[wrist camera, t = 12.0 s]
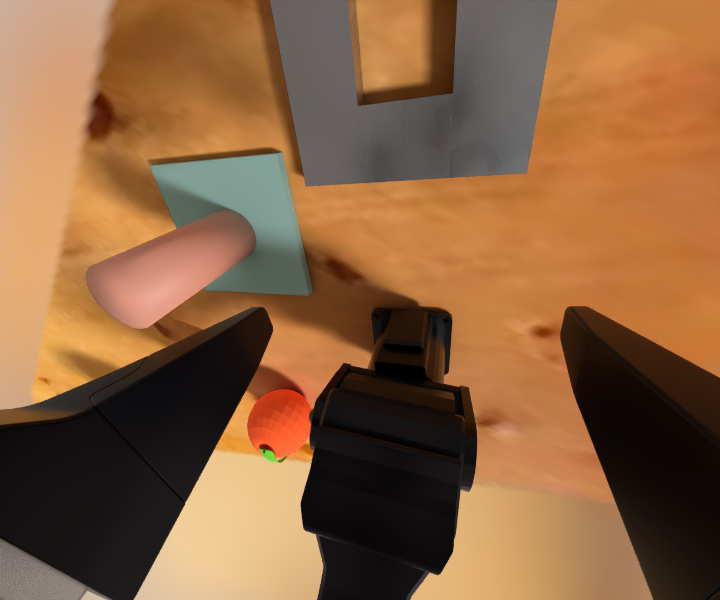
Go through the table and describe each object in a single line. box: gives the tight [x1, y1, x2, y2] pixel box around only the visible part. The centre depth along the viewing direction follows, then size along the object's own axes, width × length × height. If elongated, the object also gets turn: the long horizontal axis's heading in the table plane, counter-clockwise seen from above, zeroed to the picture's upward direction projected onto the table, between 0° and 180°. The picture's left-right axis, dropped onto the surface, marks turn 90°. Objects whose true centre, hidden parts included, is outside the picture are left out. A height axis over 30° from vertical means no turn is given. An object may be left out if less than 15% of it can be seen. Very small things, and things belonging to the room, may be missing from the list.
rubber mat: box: [149, 152, 313, 296], centre depth 24 cm, size 11×11×1 cm
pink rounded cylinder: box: [86, 209, 256, 329], centre depth 20 cm, size 4×4×10 cm
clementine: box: [247, 389, 311, 463], centre depth 33 cm, size 8×7×7 cm
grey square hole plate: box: [270, 0, 557, 186], centre depth 15 cm, size 13×13×2 cm
